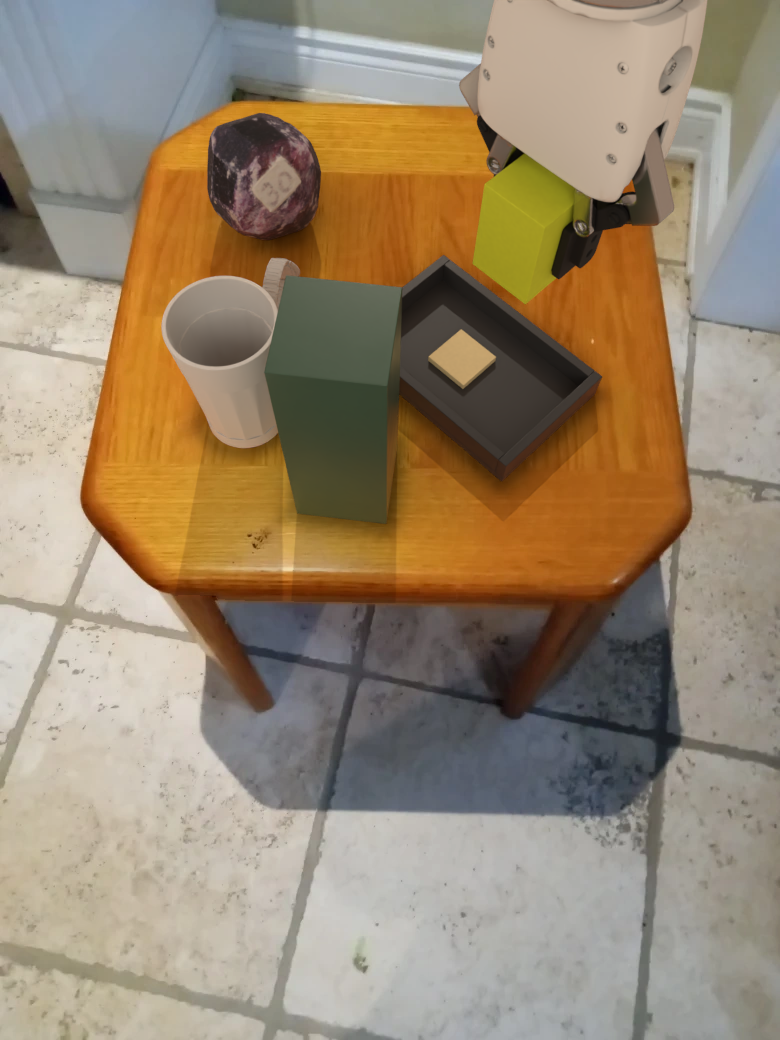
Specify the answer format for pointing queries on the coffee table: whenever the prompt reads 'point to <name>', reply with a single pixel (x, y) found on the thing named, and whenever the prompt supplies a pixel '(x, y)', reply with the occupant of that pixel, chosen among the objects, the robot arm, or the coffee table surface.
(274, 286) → the wristwatch
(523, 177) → the yellow-green rectangular block
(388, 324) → the tall green box
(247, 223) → the mineral specimen
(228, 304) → the cup
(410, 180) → the coffee table surface
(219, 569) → the coffee table surface
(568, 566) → the coffee table surface
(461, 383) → the beige flat square block
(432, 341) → the pan
